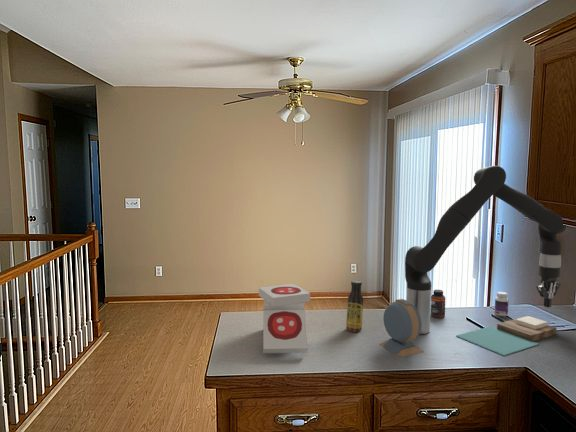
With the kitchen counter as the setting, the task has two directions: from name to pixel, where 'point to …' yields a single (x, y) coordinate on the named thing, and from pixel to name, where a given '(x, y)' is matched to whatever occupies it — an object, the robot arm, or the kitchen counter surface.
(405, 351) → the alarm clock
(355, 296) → the sauce bottle
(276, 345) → the pizza boxes
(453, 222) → the robot arm
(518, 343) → the mat
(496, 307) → the pill bottle
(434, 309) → the supplement bottle
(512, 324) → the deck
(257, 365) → the kitchen counter surface
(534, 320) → the tile
